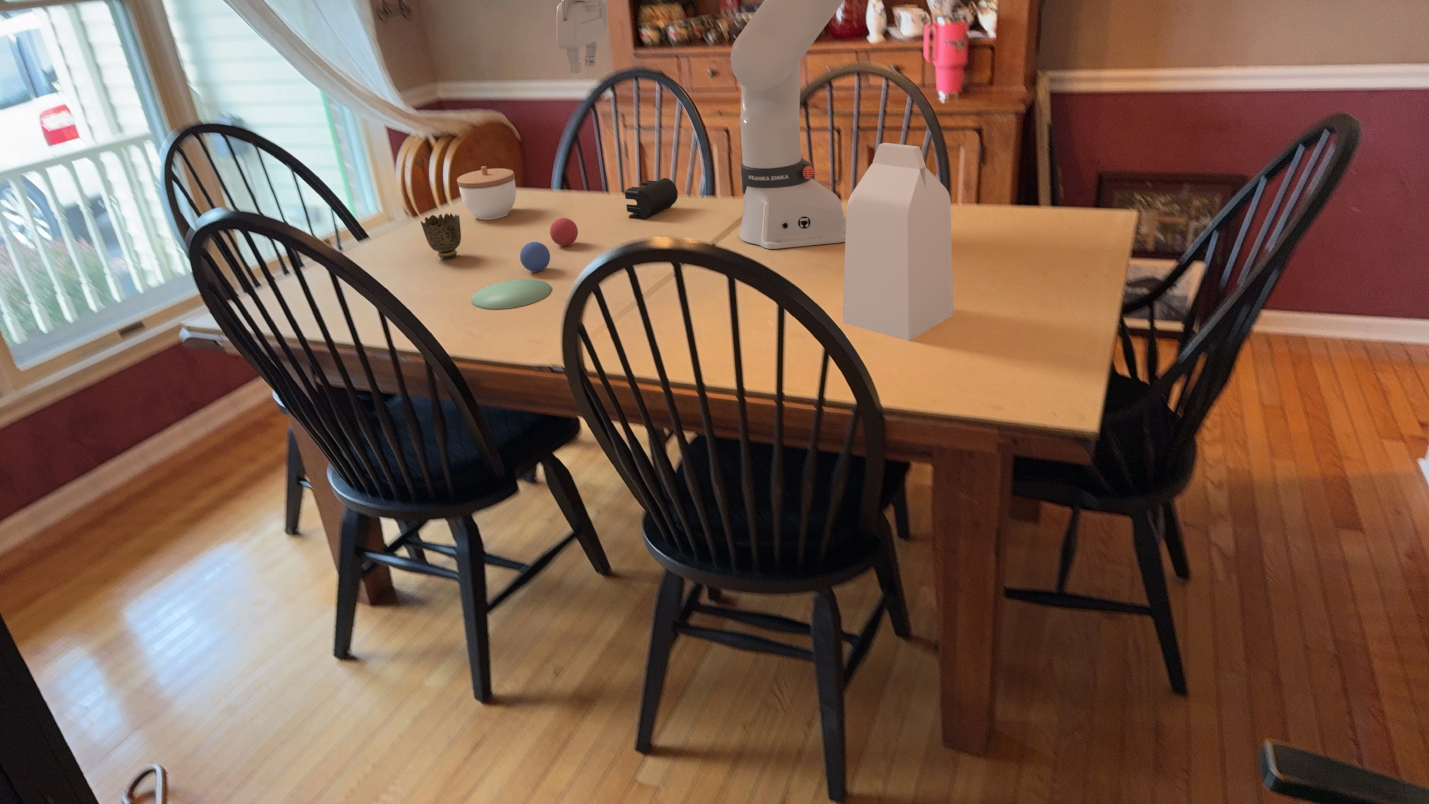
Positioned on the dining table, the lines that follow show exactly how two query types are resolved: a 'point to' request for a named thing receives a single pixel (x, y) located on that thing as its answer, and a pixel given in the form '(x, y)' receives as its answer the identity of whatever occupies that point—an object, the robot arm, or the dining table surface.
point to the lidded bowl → (488, 192)
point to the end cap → (651, 198)
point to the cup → (443, 234)
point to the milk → (898, 247)
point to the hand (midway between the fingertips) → (583, 69)
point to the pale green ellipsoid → (511, 294)
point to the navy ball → (535, 256)
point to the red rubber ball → (563, 231)
